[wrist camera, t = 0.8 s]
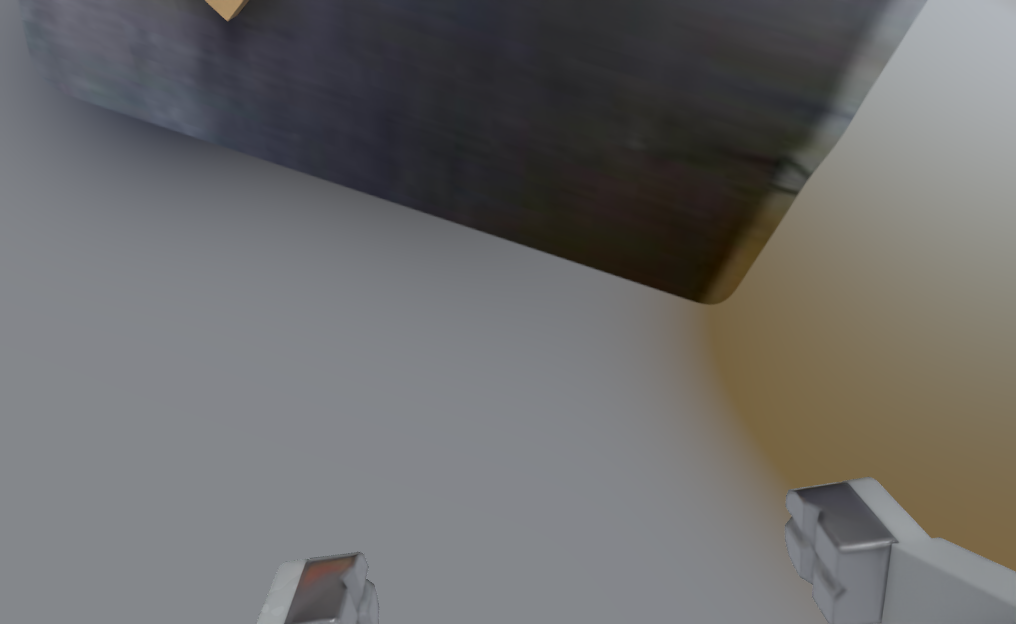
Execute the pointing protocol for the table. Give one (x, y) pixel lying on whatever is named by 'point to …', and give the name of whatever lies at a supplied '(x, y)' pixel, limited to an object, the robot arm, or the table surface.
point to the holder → (227, 7)
